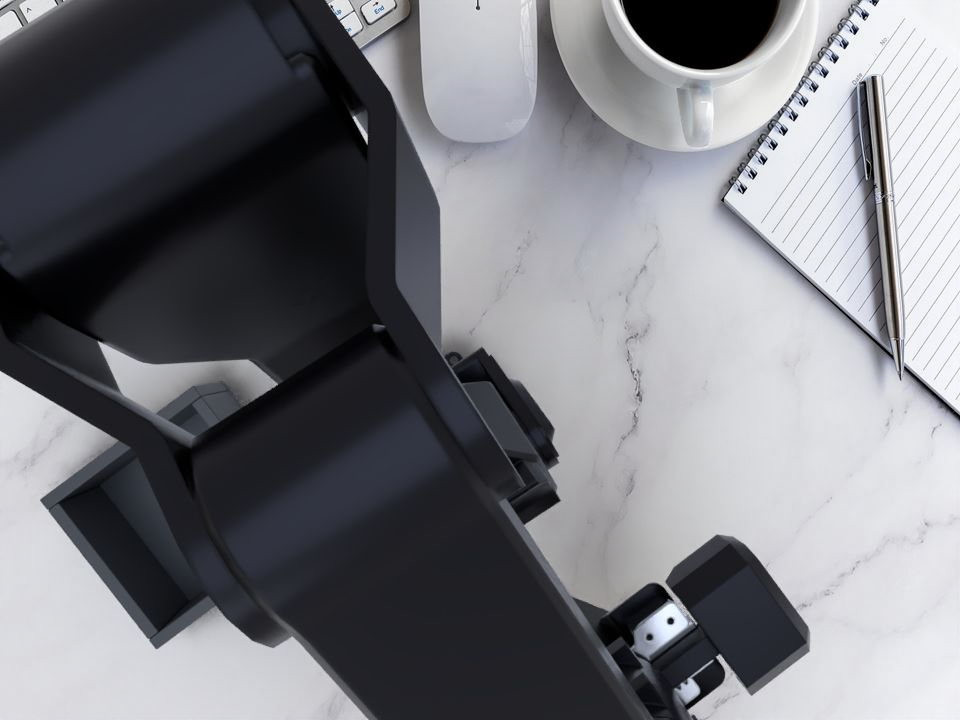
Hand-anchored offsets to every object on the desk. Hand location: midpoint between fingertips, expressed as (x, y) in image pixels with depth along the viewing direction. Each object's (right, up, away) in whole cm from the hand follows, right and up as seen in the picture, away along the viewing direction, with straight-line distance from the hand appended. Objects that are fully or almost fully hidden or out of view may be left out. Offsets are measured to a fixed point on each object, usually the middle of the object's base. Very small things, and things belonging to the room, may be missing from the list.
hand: (581, 644), depth 47 cm
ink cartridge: (+1, +1, +2) cm, 3 cm away
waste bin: (-22, +8, +4) cm, 24 cm away
